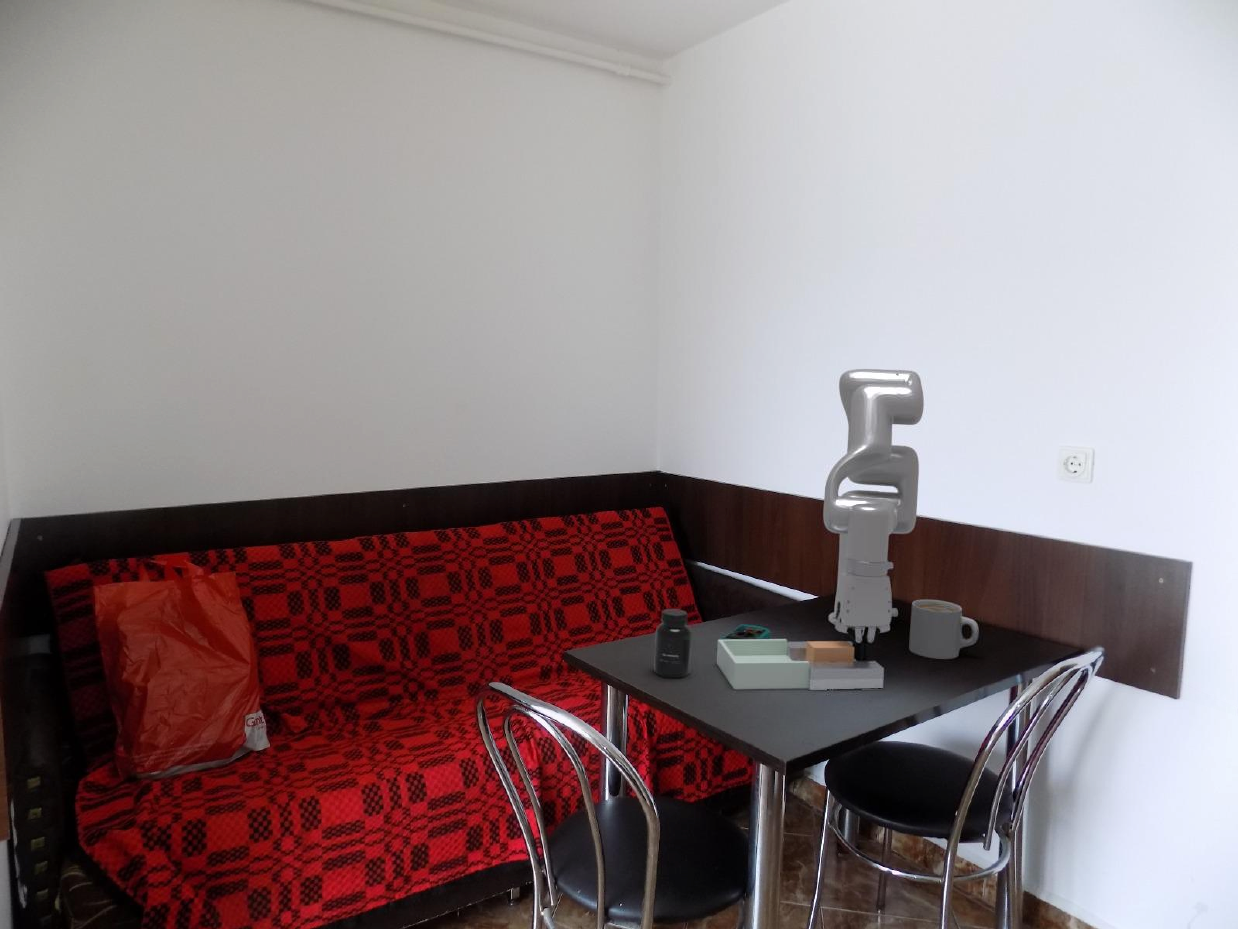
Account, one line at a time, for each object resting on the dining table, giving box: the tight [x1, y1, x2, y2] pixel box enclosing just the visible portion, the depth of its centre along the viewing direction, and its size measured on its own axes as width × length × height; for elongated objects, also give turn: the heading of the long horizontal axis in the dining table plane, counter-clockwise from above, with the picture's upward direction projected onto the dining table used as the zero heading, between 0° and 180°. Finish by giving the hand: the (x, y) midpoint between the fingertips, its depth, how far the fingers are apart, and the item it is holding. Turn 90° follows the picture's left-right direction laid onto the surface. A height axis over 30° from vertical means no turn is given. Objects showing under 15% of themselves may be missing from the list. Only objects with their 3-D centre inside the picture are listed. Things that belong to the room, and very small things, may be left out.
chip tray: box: [716, 638, 809, 690], centre depth 161 cm, size 14×14×5 cm
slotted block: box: [786, 640, 885, 691], centre depth 163 cm, size 14×16×4 cm
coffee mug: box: [908, 599, 980, 660], centre depth 178 cm, size 13×10×10 cm
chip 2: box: [826, 640, 854, 662], centre depth 163 cm, size 4×4×4 cm
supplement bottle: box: [653, 608, 692, 679], centre depth 161 cm, size 7×7×12 cm
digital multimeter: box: [716, 624, 771, 647], centre depth 181 cm, size 7×15×3 cm, turn 152°
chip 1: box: [806, 640, 834, 662], centre depth 163 cm, size 4×4×4 cm
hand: (860, 660), depth 164 cm, fingers closed
